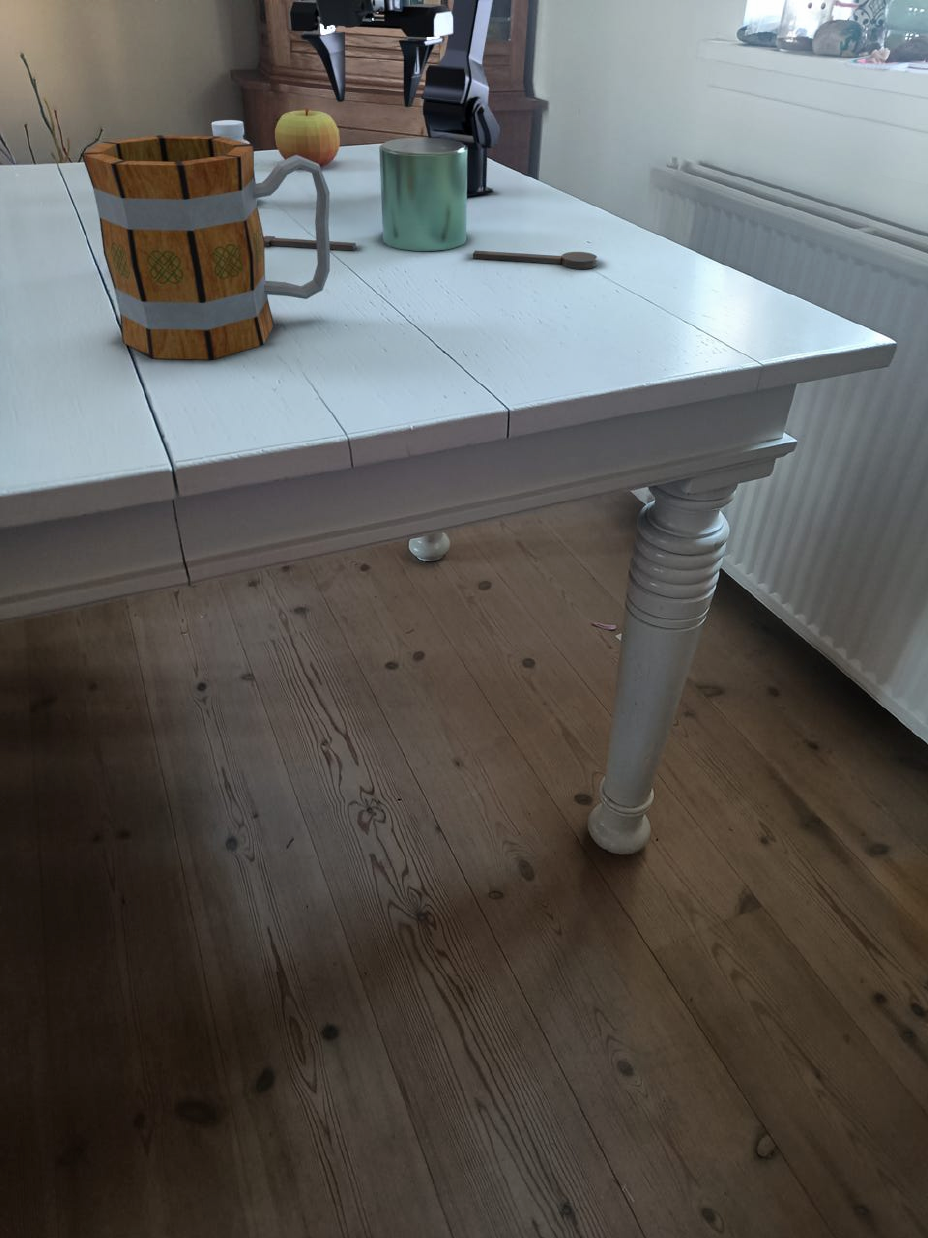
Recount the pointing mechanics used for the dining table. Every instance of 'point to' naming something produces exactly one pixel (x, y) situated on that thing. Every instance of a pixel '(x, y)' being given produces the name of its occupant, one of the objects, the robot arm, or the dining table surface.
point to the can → (423, 193)
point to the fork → (306, 243)
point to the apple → (308, 136)
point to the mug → (193, 242)
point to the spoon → (543, 258)
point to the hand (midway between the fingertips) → (374, 104)
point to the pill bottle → (230, 131)
